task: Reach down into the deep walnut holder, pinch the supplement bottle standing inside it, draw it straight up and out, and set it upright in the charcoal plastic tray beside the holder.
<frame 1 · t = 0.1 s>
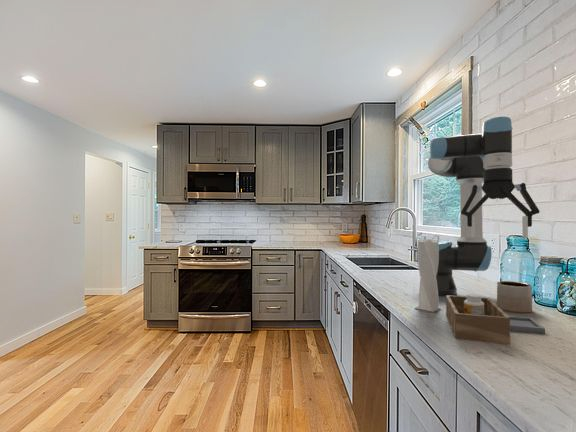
hand: (498, 237, 100), 28 cm above the countertop, tool pointing down, fingers open, 13 cm apart
planter: (514, 309, 122), on the countertop
supplement bottle: (474, 328, 101), resting in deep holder
tray: (517, 326, 103), on the countertop
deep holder: (474, 327, 101), on the countertop
skyscraper: (428, 310, 122), on the countertop
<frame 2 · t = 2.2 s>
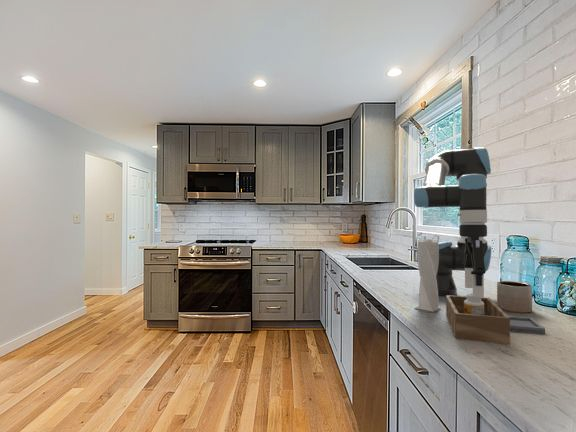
hand: (473, 292, 101), 11 cm above the countertop, tool pointing down, fingers open, 13 cm apart
nothing on the countertop moved.
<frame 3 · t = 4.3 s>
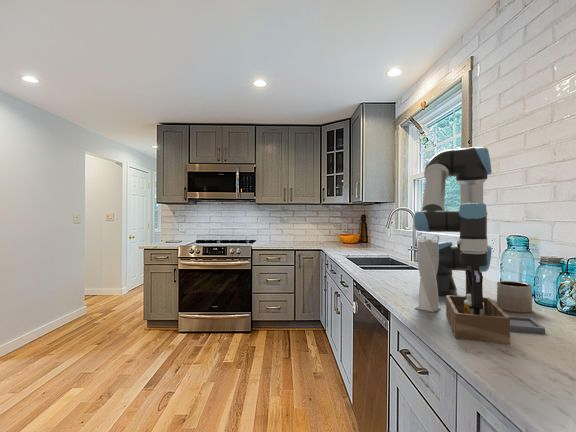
hand: (474, 326, 101), 0 cm above the countertop, tool pointing down, fingers closed on supplement bottle, 6 cm apart
supplement bottle: (474, 328, 101), resting in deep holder, touching gripper
everything else where it was.
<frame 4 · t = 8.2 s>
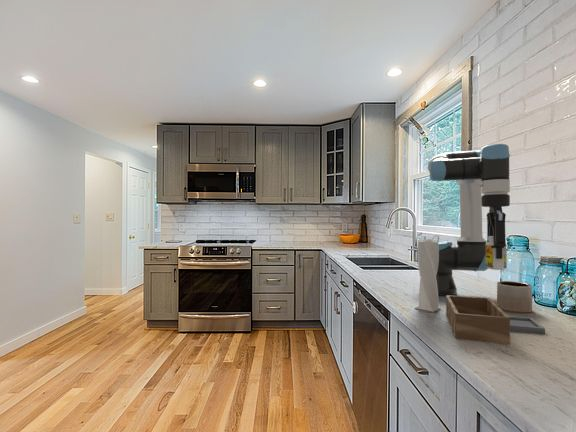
hand: (496, 267, 102), 19 cm above the countertop, tool pointing down, fingers closed on supplement bottle, 6 cm apart
supplement bottle: (496, 269, 102), point 18 cm above the countertop, touching gripper
everything else where it was.
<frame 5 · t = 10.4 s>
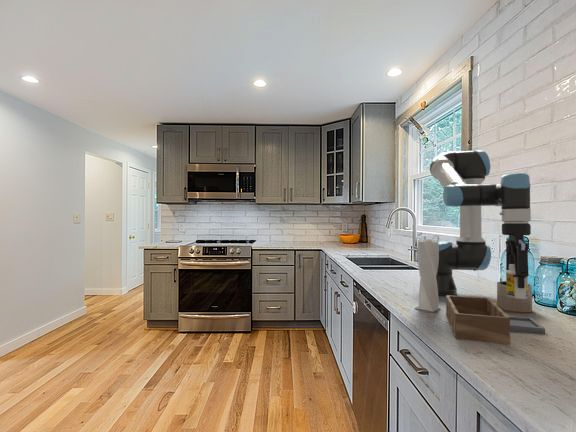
hand: (517, 296, 103), 10 cm above the countertop, tool pointing down, fingers closed on supplement bottle, 6 cm apart
supplement bottle: (517, 297, 103), point 9 cm above the countertop, touching gripper
everything else where it was.
when the fingers open (3 cm above the countertop, at t = 12.3 s): supplement bottle drops 2 cm, resting on tray.
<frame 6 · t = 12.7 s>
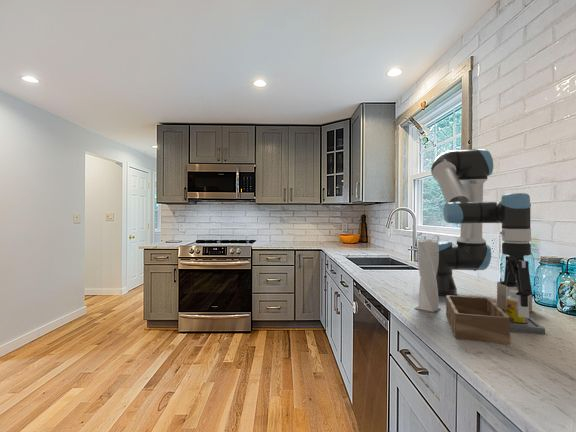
hand: (517, 311, 103), 5 cm above the countertop, tool pointing down, fingers open, 11 cm apart
supplement bottle: (517, 324, 102), point 1 cm above the countertop, touching tray
everything else where it was.
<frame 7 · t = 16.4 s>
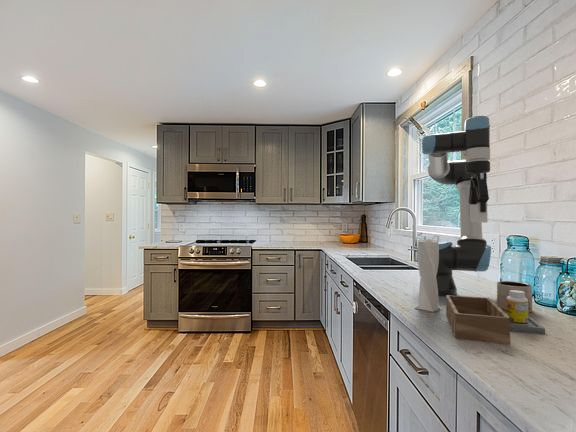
hand: (478, 222, 114), 33 cm above the countertop, tool pointing down, fingers open, 13 cm apart
nothing on the countertop moved.
at the end: supplement bottle inside the target area on the tray (0.3 cm from its centre), point 0.6 cm above the tray's base; supplement bottle tilted 0°; the gripper is holding nothing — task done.
